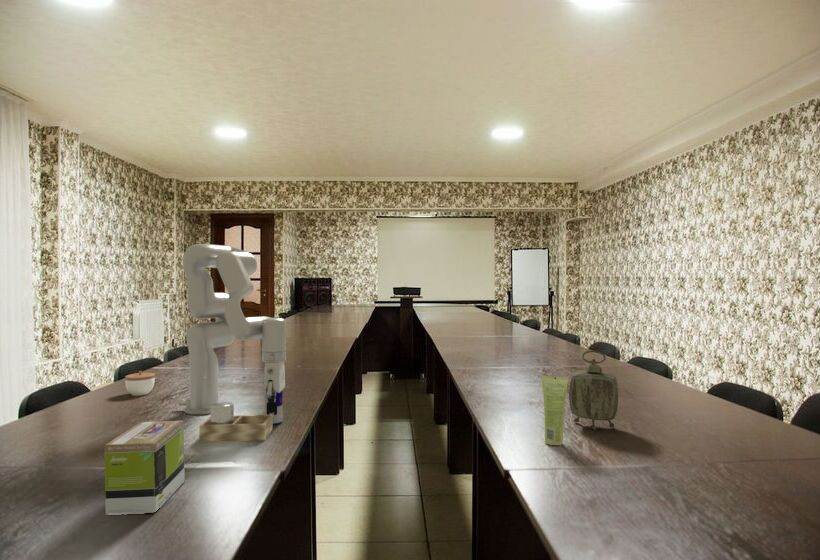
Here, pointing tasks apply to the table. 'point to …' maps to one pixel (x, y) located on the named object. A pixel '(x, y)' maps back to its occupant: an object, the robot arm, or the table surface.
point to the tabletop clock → (593, 393)
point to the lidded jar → (139, 383)
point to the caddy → (237, 429)
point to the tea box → (144, 467)
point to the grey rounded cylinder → (222, 413)
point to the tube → (554, 408)
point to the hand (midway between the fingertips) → (273, 411)
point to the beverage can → (279, 399)
